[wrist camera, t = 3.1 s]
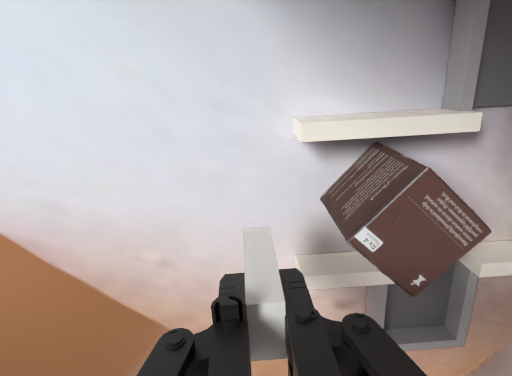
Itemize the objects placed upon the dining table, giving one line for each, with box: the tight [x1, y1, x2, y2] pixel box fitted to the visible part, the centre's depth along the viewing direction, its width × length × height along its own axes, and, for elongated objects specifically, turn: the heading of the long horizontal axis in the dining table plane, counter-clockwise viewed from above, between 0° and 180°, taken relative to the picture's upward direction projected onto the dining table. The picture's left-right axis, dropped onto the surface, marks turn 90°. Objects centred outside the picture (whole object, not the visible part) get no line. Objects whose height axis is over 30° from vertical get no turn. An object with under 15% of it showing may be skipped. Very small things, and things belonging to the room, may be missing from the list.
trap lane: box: [293, 0, 512, 351], centre depth 23 cm, size 28×24×3 cm
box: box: [320, 142, 491, 297], centre depth 21 cm, size 6×6×7 cm
